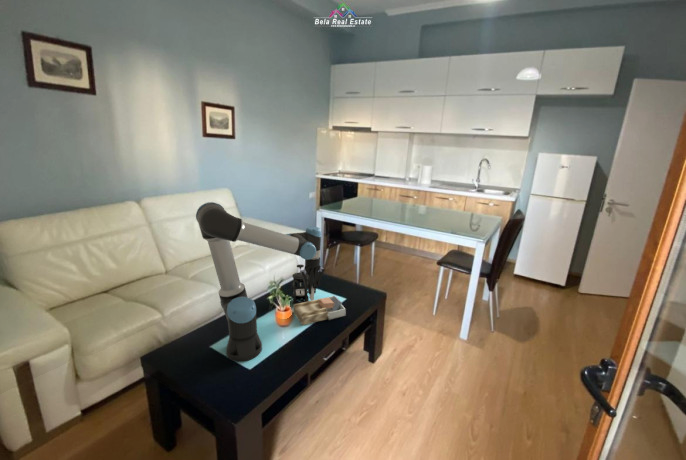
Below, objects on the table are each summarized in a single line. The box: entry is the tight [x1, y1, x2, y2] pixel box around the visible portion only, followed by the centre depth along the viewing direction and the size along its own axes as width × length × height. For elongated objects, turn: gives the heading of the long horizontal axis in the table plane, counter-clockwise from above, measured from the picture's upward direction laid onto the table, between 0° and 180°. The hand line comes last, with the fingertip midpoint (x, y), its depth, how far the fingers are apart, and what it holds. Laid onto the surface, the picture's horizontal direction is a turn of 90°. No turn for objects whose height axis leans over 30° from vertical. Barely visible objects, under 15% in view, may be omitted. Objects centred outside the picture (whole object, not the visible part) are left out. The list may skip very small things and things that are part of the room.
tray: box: [325, 295, 347, 321], centre depth 176 cm, size 10×16×4 cm, turn 27°
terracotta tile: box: [318, 297, 334, 308], centre depth 173 cm, size 6×6×3 cm
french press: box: [291, 264, 310, 306], centre depth 181 cm, size 12×9×23 cm
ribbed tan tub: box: [292, 298, 329, 326], centre depth 170 cm, size 14×14×6 cm
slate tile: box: [331, 295, 343, 311], centre depth 176 cm, size 6×6×3 cm
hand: (311, 299), depth 168 cm, fingers closed
